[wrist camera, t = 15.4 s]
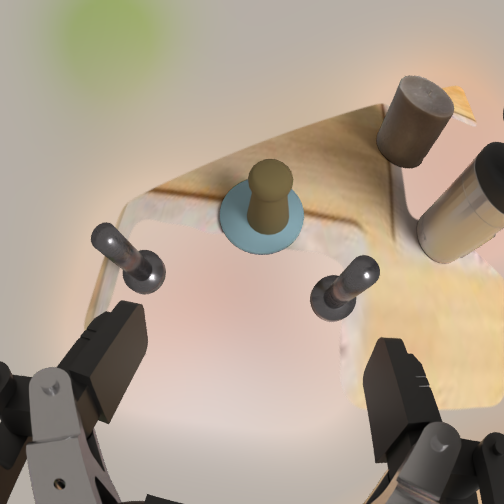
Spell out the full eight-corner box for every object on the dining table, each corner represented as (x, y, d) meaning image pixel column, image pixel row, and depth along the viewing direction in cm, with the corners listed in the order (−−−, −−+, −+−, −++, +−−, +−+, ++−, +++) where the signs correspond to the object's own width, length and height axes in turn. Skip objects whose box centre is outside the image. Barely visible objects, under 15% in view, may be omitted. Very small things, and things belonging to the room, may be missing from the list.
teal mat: (305, 185, 47) (306, 183, 46) (299, 260, 43) (300, 258, 42) (228, 176, 48) (227, 173, 47) (213, 248, 44) (212, 246, 43)
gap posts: (354, 280, 42) (393, 244, 29) (351, 323, 40) (393, 304, 27) (132, 251, 44) (89, 207, 31) (122, 290, 42) (72, 259, 29)
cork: (241, 203, 45) (237, 157, 35) (281, 192, 46) (287, 146, 36) (253, 240, 43) (252, 201, 33) (295, 228, 44) (306, 188, 34)
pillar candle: (429, 170, 48) (467, 117, 34) (382, 166, 48) (415, 105, 34) (414, 130, 52) (443, 75, 38) (369, 124, 52) (393, 63, 38)
